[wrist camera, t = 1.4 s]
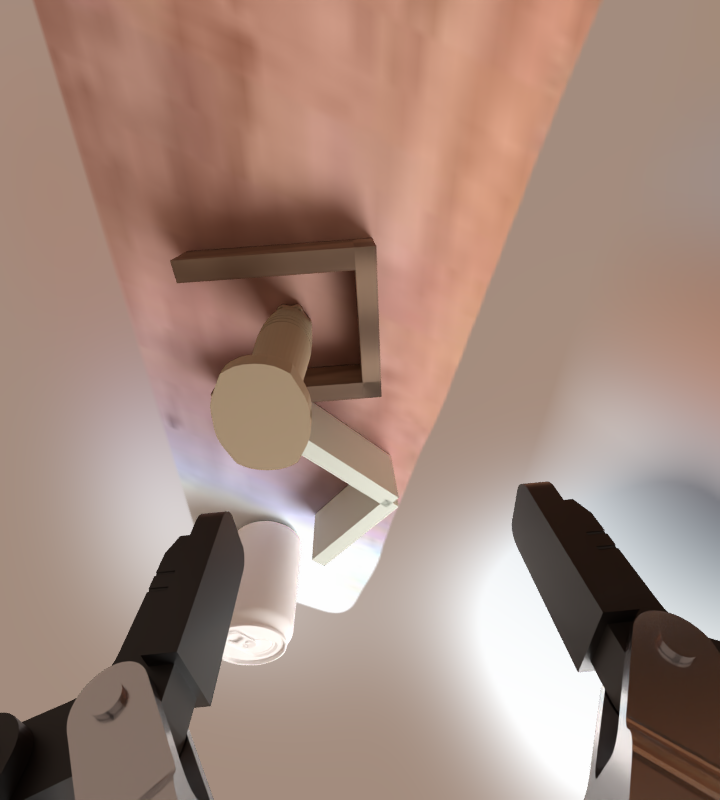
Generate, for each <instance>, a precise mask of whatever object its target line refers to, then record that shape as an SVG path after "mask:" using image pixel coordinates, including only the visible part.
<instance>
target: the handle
mask: <svg viewBox="0 0 720 800" xmlns="http://www.w3.org/2000/svg"><path fill="white" fill-rule="evenodd" d="M311 349H312V323H311V319H310V318H309V317H307V316H306V315H305V313H304V312H303V309H302V306H300V305H298V304H296V305H293V306H288V305H285V304H283V305H281V306H279V307H278V308H277V311H276V312H274V313H273V314H272V315H271V316H270V317H269V318H268V319H267V321H266V322H265V324H264V325H263V327H262V329H261V331H260V333H259V335H258V337H257V339H256V343H255V346H254V349H253V352H252V355H246V356H242V357H238V358H236V359H234V360H232V361H231V362H229V363H228V364H226V365H225V366H224V368H223V370H222V371H221V373H220V375H219V378H218V380H217V383H216V386H215V389H214V392H213V395H212V398H211V404H210V408H211V416H212V421H213V425H214V430H215V433H216V436H217V438H218V440H219V442H220V443H221V445H222V446H223V447H224V449H225V450H226V451H227V452H228V453H229V455H230V456H231V457H232V458H233V459H234V461H235V462H236V463H238V464H240V465H242V466H245V467H248V468H251V469H258V470H276V469H282V468H286V467H289V466H291V465H293V464H295V463H297V462H298V461H299V459H300V457H301V455H302V454H303V452H304V450H305V448H306V446H307V444H308V441H309V438H310V433H311V426H312V409H311V398H310V394H309V392H308V389H307V387H306V385H305V383H304V381H303V380H304V377H305V373H306V370H307V366H308V363H309V360H310V356H311Z"/></svg>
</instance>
